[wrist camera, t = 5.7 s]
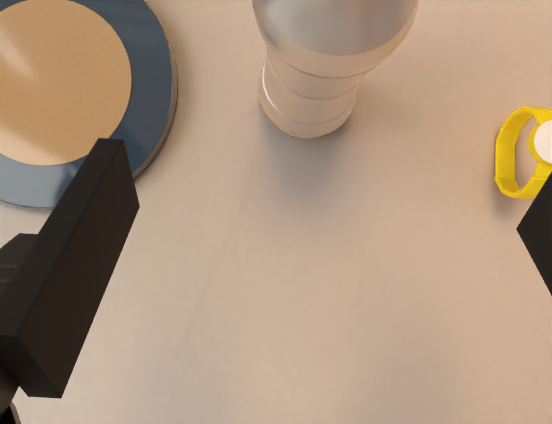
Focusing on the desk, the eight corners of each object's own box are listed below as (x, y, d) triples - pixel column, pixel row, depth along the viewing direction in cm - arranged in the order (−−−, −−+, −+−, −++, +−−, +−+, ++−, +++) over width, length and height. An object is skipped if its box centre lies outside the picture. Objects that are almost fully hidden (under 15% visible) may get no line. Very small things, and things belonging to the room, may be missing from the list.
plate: (-118, 77, 31) (-135, 70, 30) (68, -81, 32) (59, -95, 30) (42, 260, 31) (32, 261, 29) (228, 96, 31) (226, 91, 30)
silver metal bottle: (278, 44, 31) (289, -278, 11) (363, 78, 31) (523, -183, 11) (245, 124, 31) (195, -60, 11) (330, 158, 31) (434, 37, 11)
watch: (519, 201, 31) (578, 196, 25) (482, 199, 31) (531, 193, 25) (523, 121, 31) (582, 96, 25) (486, 118, 31) (536, 93, 25)
